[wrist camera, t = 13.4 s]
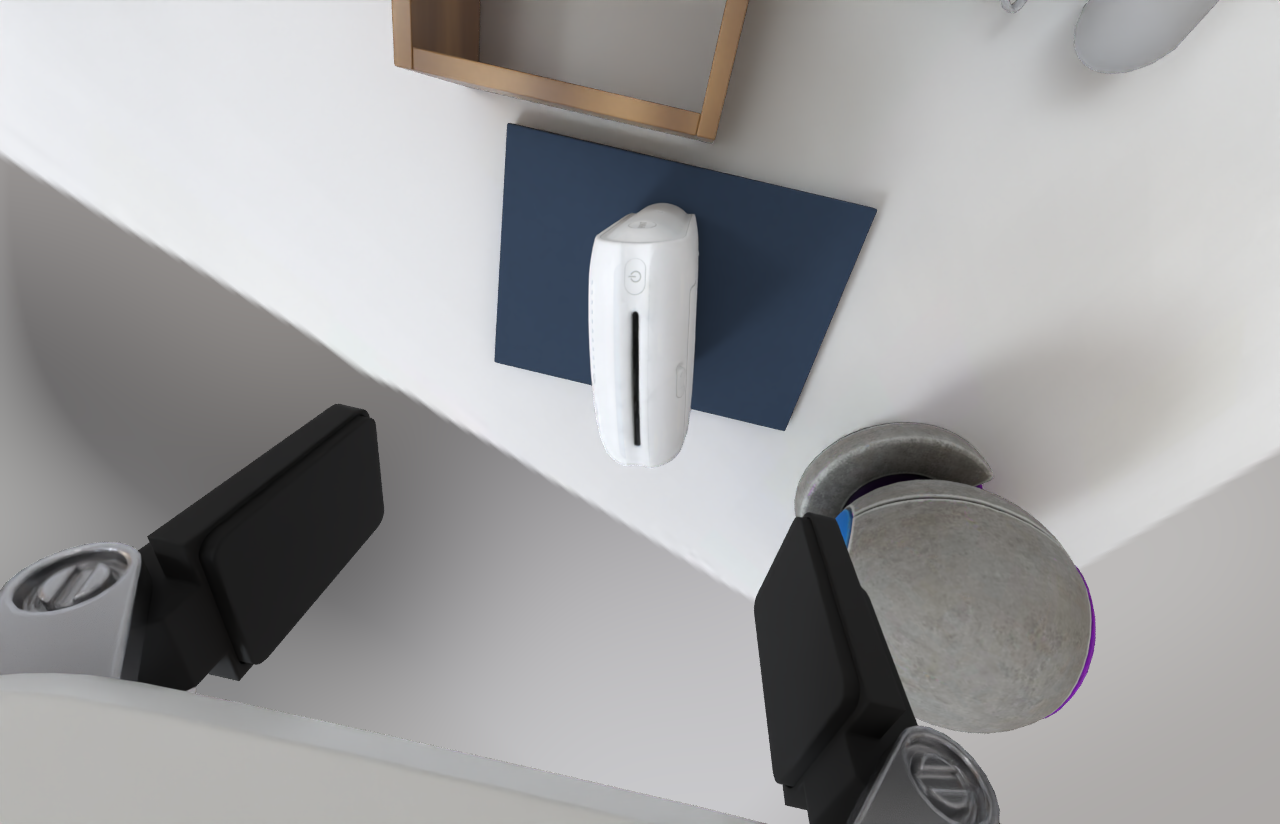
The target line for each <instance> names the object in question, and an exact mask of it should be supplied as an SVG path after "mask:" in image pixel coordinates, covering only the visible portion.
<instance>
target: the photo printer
mask: <svg viewBox="0 0 1280 824" xmlns="http://www.w3.org/2000/svg"><path fill="white" fill-rule="evenodd" d="M698 256H699V251H698V229H697V222H696V217H695V214H687V213H686V212H685V211H684V210H682V209H681V208H679V207H677V206H675V205H673V204H669V203H656V204H652V205H650V206H647V207H646V208H644V209H642V210H641V211H639V212H638V213H637V214H635V213H630V214H628V215H626V216H625V217H623V218H621V219H620V220H619V221H617V222H615V223H614V224H613V225H611V226H610V227H608V228H606V229H605V230H604V231H602V232H601V233H599V234H598V235H597V236H596V237H595V241H594V245H593V249H592V255H591V262H590V270H589V348H590V365H591V379H592V389H593V399H594V407H595V414H596V421H597V426H598V430H599V434H600V437H601V440H602V443H603V445H604V448H605V450H606V452H607V454H608V455H609V456H610V457H611V458H612V459H613V460H614V461H616V462H617V463H619V464H621V465H624V466H632V465H638V466H645V467H648V468H655V467H658V466H661V465H664V464H666V463H668V462H670V461H671V460H673V459H674V458H675V457H676V456H677V455H678V453H679V452H680V450H681V448H682V445H683V443H684V439H685V437H686V434H687V430H688V424H689V415H690V411H691V396H692V383H693V368H694V352H695V325H696V307H697V287H698Z"/></svg>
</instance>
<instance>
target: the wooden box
mask: <svg viewBox="0 0 1280 824" xmlns="http://www.w3.org/2000/svg"><path fill="white" fill-rule="evenodd" d="M748 3H749V0H727V1H726V5H725V10H724V14H723V19H722V23H721V27H720V32H719V36H718V41H717V45H716V50H715V54H714V58H713V63H712V67H711V72H710V76H709V81H708V85H707V89H706V94H705V98H704V103H703V107H702V112H701V115H700V113H696V112H692V111H688V110H683V109H679V108H675V107H670V106H666V105H662V104H658V103H653V102H649V101H645V100H640V99H636V98H632V97H627V96H623V95H619V94H615V93H610V92H606V91H602V90H597V89H593V88H589V87H584V86H580V85H576V84H572V83H567V82H563V81H559V80H554V79H550V78H546V77H542V76H537V75H533V74H529V73H524V72H520V71H516V70H511V69H507V68H503V67H499V66H494V65H490V64H486V63H481V62H479V34H480V0H392V22H393V44H394V64H395V66H397V67H401V68H404V69H408V70H411V71H414V72H418V73H421V74H425V75H428V76H432V77H435V78H439V79H442V80H446V81H449V82H453V83H456V84H459V85H463V86H467V87H471V88H475V89H480V90H484V91H488V92H493V93H497V94H501V95H505V96H510V97H514V98H518V99H523V100H527V101H531V102H535V103H540V104H544V105H548V106H553V107H557V108H561V109H565V110H570V111H574V112H578V113H583V114H587V115H591V116H595V117H600V118H604V119H608V120H613V121H617V122H621V123H625V124H630V125H634V126H638V127H643V128H647V129H651V130H656V131H660V132H664V133H668V134H673V135H677V136H681V137H686V138H690V139H694V140H699V141H703V142H707V143H711V144H712V143H713V142H714V140H715V138H716V134H717V130H718V126H719V122H720V118H721V113H722V109H723V105H724V101H725V97H726V93H727V89H728V85H729V81H730V77H731V72H732V68H733V64H734V60H735V56H736V52H737V48H738V44H739V40H740V36H741V31H742V27H743V23H744V19H745V15H746V11H747V7H748Z"/></svg>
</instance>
